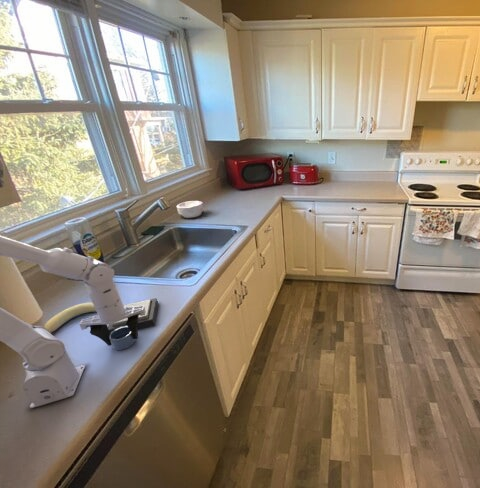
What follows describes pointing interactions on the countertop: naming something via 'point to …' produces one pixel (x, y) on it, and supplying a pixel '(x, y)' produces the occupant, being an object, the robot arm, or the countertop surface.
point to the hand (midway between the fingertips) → (123, 339)
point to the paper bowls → (190, 209)
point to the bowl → (121, 338)
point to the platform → (147, 307)
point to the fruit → (68, 315)
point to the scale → (145, 322)
